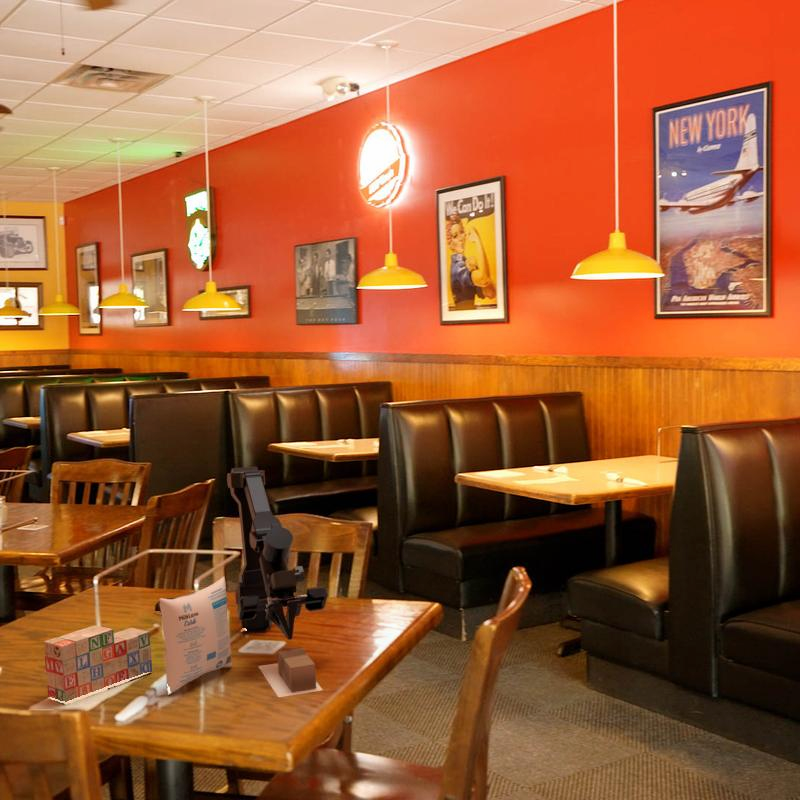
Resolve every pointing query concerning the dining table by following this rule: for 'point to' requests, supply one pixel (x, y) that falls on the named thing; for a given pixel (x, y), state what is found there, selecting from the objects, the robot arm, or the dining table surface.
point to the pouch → (196, 634)
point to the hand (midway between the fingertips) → (290, 638)
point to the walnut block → (296, 669)
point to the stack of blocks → (94, 660)
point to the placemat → (281, 681)
